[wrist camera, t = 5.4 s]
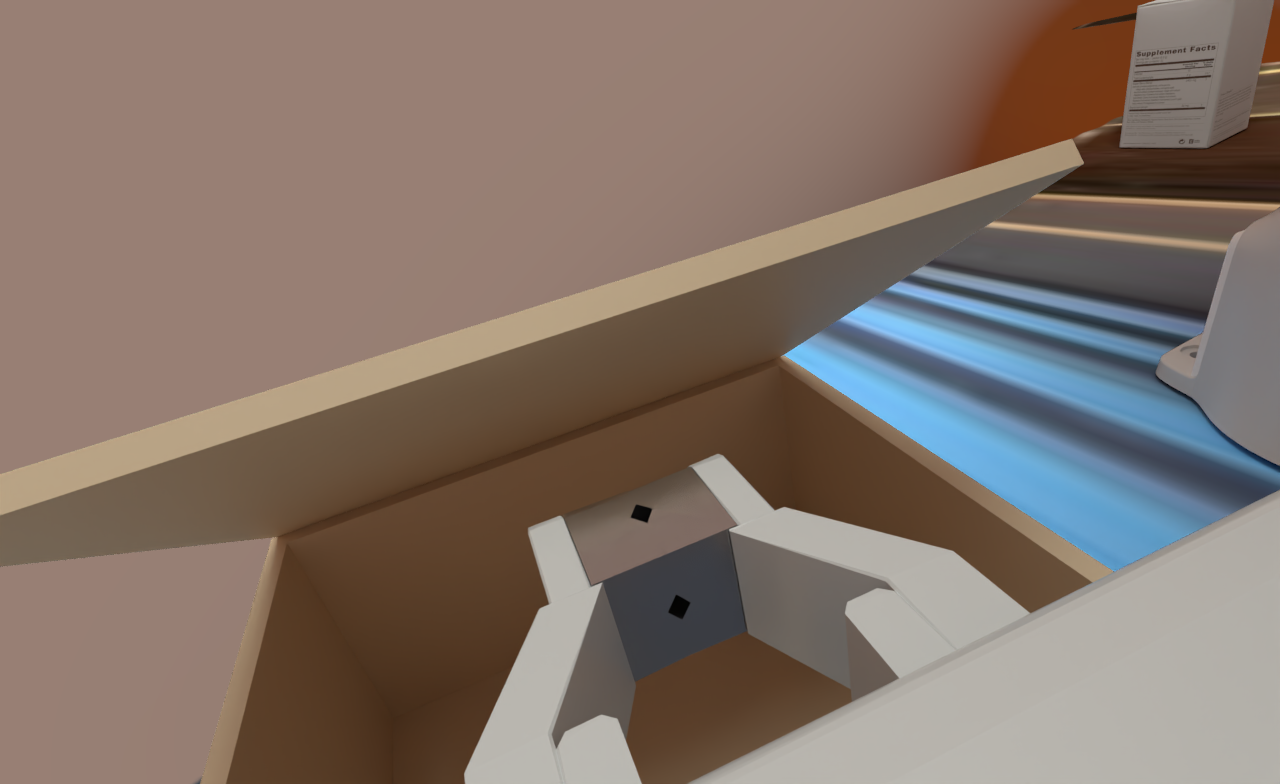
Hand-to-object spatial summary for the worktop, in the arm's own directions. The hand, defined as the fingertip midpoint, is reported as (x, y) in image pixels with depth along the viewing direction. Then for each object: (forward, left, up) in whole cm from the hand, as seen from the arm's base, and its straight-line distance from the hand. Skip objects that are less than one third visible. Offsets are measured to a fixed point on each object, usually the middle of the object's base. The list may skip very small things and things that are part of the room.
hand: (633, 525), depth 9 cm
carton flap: (-2, -7, -2) cm, 8 cm away
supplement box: (-92, -20, -16) cm, 95 cm away
